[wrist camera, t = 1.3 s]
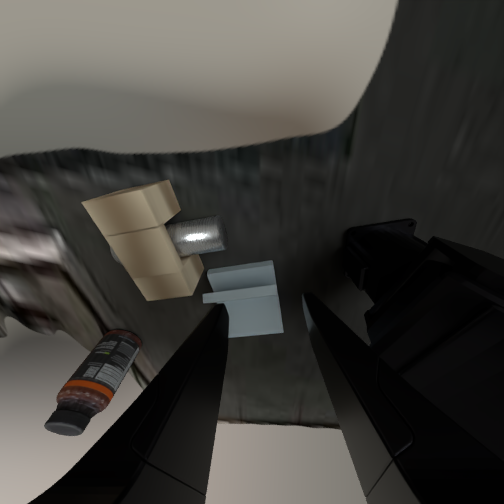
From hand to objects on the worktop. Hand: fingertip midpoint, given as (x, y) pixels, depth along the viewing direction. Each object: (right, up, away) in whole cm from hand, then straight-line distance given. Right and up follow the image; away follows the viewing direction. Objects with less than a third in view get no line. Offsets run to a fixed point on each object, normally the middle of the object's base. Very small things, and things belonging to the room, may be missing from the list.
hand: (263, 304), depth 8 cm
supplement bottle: (-22, -12, +22) cm, 33 cm away
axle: (-9, +4, +10) cm, 14 cm away
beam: (-10, +4, +12) cm, 16 cm away
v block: (-1, -3, +16) cm, 16 cm away
